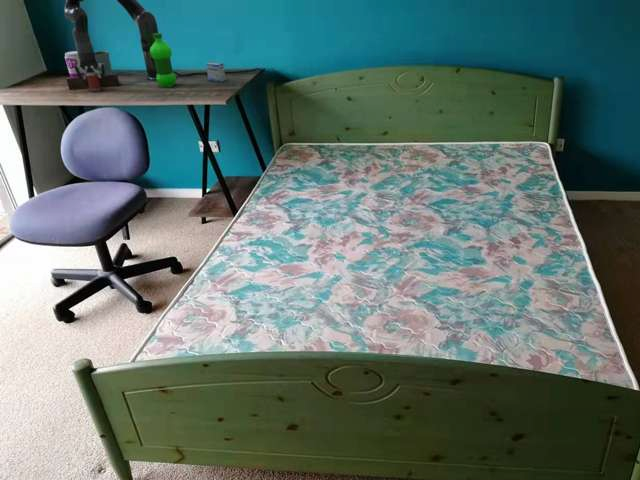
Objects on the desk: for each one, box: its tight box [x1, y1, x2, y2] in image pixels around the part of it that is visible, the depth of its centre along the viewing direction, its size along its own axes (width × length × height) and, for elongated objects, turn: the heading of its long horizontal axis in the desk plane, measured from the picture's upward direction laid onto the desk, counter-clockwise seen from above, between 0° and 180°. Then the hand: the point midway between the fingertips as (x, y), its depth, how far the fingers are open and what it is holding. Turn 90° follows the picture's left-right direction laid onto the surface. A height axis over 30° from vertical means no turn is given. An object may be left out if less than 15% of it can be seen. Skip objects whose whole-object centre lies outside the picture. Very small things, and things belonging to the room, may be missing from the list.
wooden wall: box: [65, 72, 121, 91], centre depth 306 cm, size 24×4×6 cm, turn 107°
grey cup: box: [94, 50, 113, 74], centre depth 324 cm, size 10×10×12 cm
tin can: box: [85, 72, 103, 92], centre depth 299 cm, size 6×6×9 cm
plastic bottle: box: [150, 32, 177, 88], centre depth 299 cm, size 10×10×25 cm
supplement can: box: [64, 50, 84, 78], centre depth 311 cm, size 8×8×15 cm
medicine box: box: [205, 61, 226, 83], centre depth 310 cm, size 8×4×9 cm, turn 68°
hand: (94, 85), depth 301 cm, fingers closed on tin can, 5 cm apart
